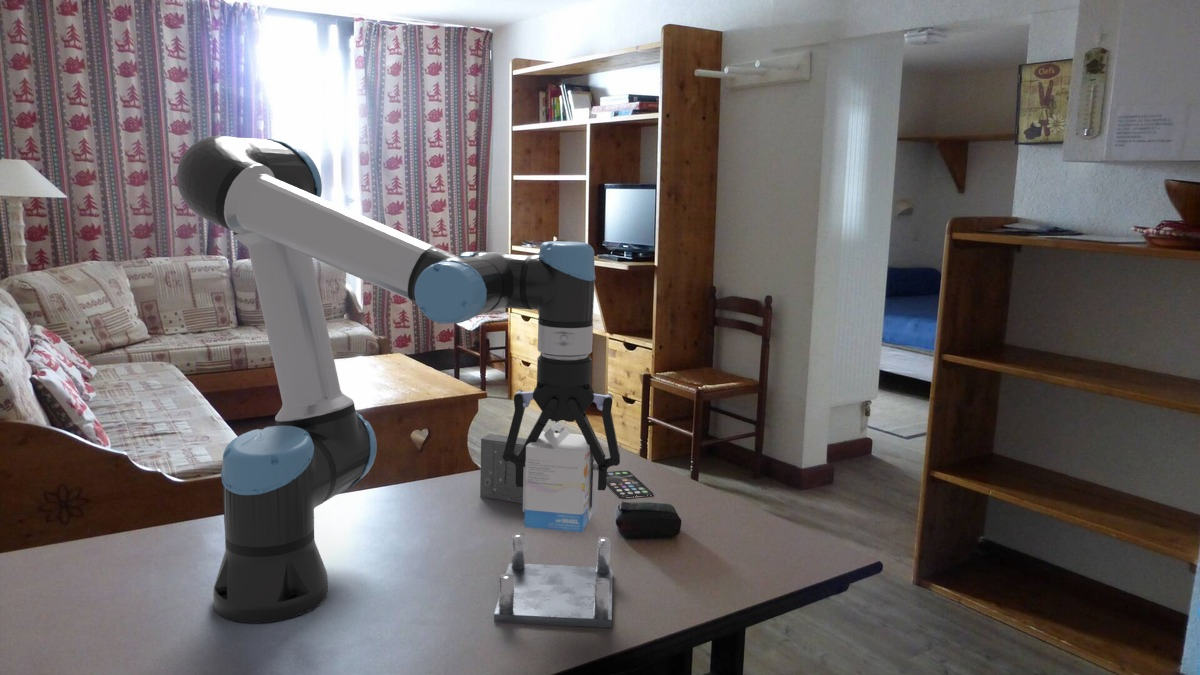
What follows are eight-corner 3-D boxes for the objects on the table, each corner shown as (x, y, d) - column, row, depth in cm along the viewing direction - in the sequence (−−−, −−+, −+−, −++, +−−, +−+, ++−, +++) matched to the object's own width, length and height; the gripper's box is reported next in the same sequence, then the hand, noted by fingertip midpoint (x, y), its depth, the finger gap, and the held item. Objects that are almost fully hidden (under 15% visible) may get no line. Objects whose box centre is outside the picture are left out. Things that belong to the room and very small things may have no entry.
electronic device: (571, 503, 162) (575, 400, 159) (558, 516, 156) (562, 409, 152) (487, 490, 167) (488, 390, 164) (471, 501, 161) (472, 397, 157)
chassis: (493, 622, 117) (494, 579, 116) (508, 570, 133) (509, 532, 132) (611, 627, 117) (613, 585, 116) (612, 575, 133) (614, 537, 132)
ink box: (582, 534, 118) (585, 440, 116) (523, 527, 120) (525, 434, 117) (594, 511, 126) (598, 423, 124) (539, 505, 128) (541, 418, 125)
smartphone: (628, 470, 181) (655, 494, 167) (628, 473, 181) (655, 498, 167) (595, 472, 179) (619, 497, 165) (595, 475, 179) (619, 501, 165)
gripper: (481, 356, 115) (480, 516, 119) (644, 363, 115) (637, 522, 119) (490, 346, 123) (488, 496, 127) (643, 352, 122) (636, 503, 126)
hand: (560, 509), depth 123 cm, fingers closed on ink box, 9 cm apart
